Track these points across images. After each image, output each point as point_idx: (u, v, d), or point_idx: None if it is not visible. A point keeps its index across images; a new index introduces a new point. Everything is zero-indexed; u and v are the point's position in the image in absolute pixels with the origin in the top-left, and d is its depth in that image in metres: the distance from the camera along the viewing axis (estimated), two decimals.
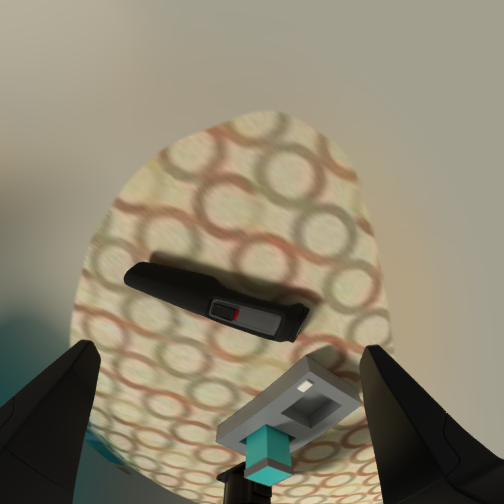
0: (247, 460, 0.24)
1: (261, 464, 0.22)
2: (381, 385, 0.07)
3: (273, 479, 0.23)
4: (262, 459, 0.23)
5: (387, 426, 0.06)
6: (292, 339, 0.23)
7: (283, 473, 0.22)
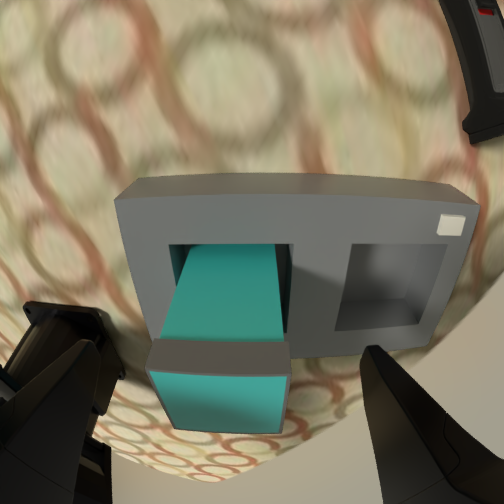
0: (173, 311, 0.08)
1: (251, 357, 0.07)
2: (381, 385, 0.07)
3: (218, 421, 0.07)
4: (255, 339, 0.07)
5: (387, 426, 0.06)
6: None
7: (270, 420, 0.07)
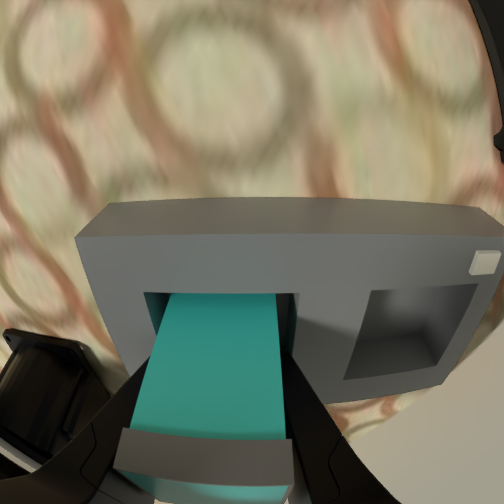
0: (147, 388, 0.06)
1: (243, 459, 0.05)
2: None
3: (207, 503, 0.05)
4: (249, 434, 0.05)
5: None
6: None
7: None
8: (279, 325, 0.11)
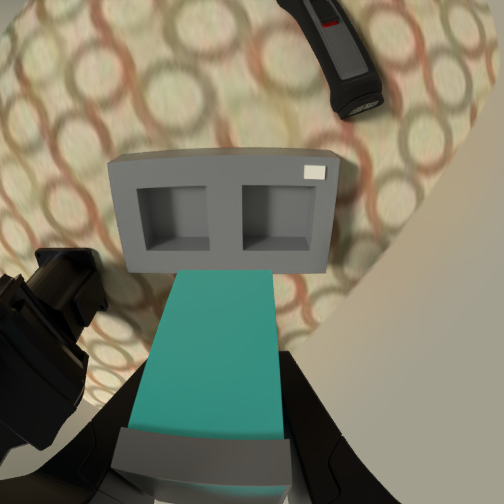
0: (145, 387, 0.06)
1: (241, 460, 0.05)
2: None
3: (205, 503, 0.05)
4: (247, 434, 0.05)
5: None
6: (358, 102, 0.15)
7: None
8: (208, 221, 0.20)
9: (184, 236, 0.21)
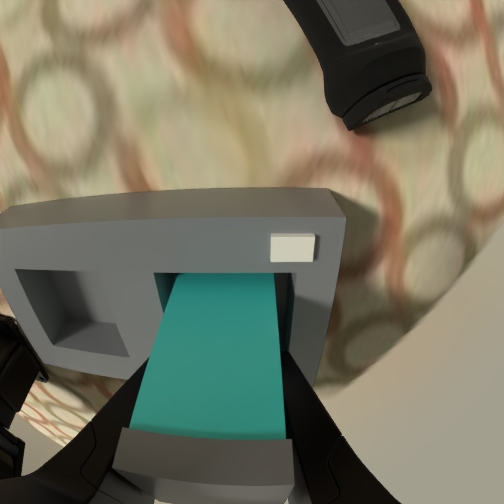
0: (146, 387, 0.06)
1: (243, 460, 0.05)
2: None
3: (207, 503, 0.05)
4: (249, 434, 0.05)
5: None
6: (386, 94, 0.06)
7: None
8: None
9: (104, 321, 0.13)
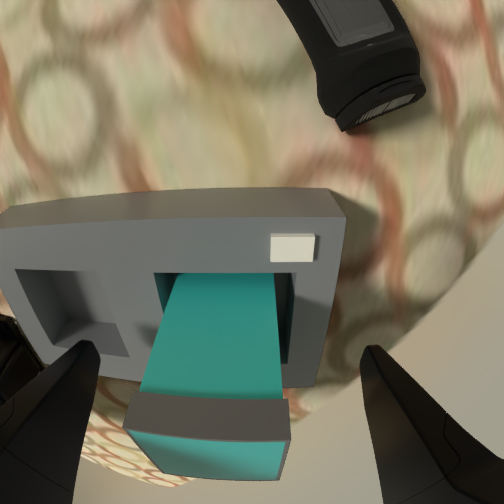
0: (156, 356, 0.07)
1: (244, 418, 0.05)
2: (381, 385, 0.07)
3: (209, 471, 0.06)
4: (250, 395, 0.06)
5: (387, 426, 0.06)
6: (379, 95, 0.06)
7: (266, 472, 0.06)
8: None
9: (104, 321, 0.13)
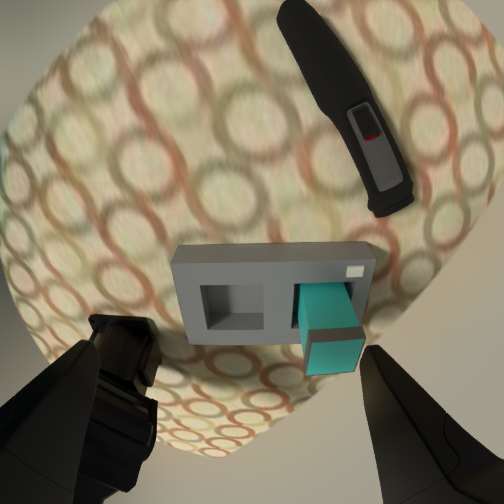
0: (309, 317, 0.18)
1: (349, 333, 0.17)
2: (381, 385, 0.07)
3: (329, 366, 0.17)
4: (349, 326, 0.17)
5: (387, 426, 0.06)
6: (393, 211, 0.17)
7: (352, 363, 0.17)
8: (259, 301, 0.24)
9: (238, 312, 0.24)
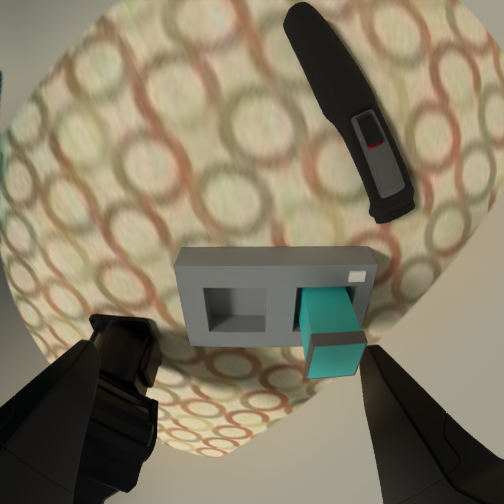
0: (312, 321, 0.18)
1: (351, 337, 0.17)
2: (381, 385, 0.07)
3: (330, 369, 0.18)
4: (350, 330, 0.17)
5: (387, 426, 0.06)
6: (394, 217, 0.18)
7: (352, 366, 0.18)
8: (261, 304, 0.24)
9: (239, 314, 0.24)
